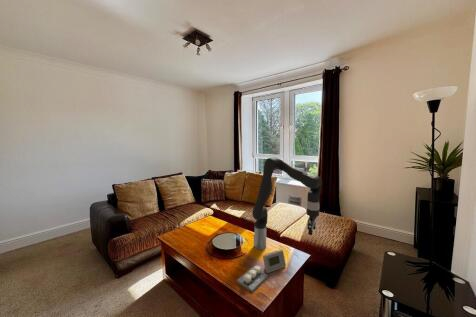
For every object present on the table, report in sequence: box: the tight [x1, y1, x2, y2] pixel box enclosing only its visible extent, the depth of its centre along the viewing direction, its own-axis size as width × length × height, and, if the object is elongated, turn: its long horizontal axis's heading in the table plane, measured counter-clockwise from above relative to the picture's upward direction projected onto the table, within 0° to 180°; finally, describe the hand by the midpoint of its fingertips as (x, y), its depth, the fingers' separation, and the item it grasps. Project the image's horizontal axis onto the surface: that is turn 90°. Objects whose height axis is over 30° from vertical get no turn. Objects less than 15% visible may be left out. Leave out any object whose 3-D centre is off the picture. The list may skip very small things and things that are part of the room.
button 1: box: [243, 273, 252, 285], centre depth 119 cm, size 5×5×3 cm
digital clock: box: [262, 249, 287, 274], centre depth 133 cm, size 16×9×11 cm, turn 103°
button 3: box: [253, 265, 262, 276], centre depth 127 cm, size 5×5×3 cm
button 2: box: [249, 270, 256, 280], centre depth 123 cm, size 5×5×3 cm
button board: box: [236, 266, 269, 293], centre depth 123 cm, size 12×16×2 cm
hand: (312, 231), depth 126 cm, fingers open, 8 cm apart
